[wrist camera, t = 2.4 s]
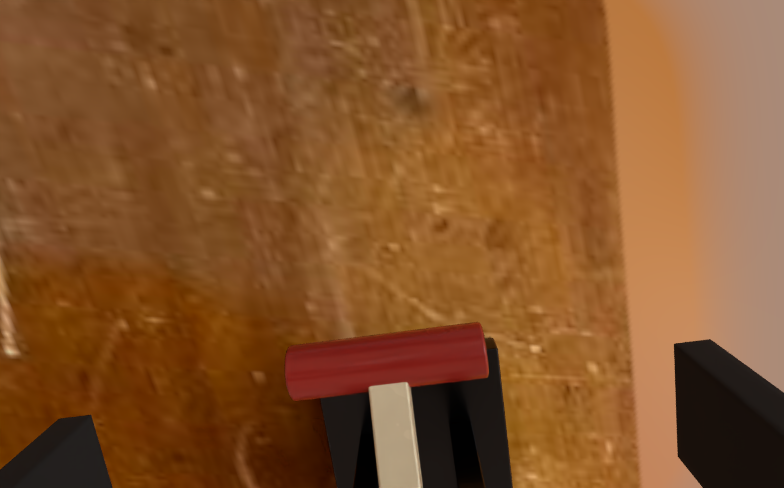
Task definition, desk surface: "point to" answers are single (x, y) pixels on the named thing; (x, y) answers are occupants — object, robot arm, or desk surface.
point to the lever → (389, 382)
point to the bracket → (430, 434)
